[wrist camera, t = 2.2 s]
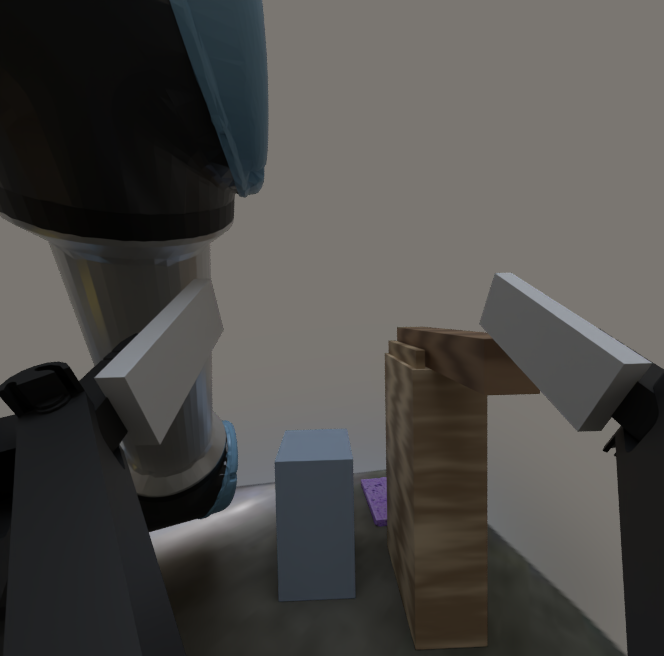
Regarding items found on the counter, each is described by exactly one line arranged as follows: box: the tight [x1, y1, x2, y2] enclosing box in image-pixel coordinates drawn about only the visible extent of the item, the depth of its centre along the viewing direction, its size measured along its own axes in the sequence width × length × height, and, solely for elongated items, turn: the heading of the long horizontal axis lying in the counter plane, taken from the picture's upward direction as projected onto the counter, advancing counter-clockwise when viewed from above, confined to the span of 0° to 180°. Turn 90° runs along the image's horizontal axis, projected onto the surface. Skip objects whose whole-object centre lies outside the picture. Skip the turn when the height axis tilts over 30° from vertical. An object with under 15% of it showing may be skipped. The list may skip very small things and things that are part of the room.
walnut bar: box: [397, 327, 540, 395], centre depth 32 cm, size 24×4×4 cm, turn 1°
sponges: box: [361, 477, 387, 527], centre depth 56 cm, size 7×13×2 cm, turn 7°
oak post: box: [385, 341, 487, 650], centre depth 38 cm, size 14×8×33 cm, turn 1°
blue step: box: [275, 429, 355, 601], centre depth 41 cm, size 10×10×18 cm
